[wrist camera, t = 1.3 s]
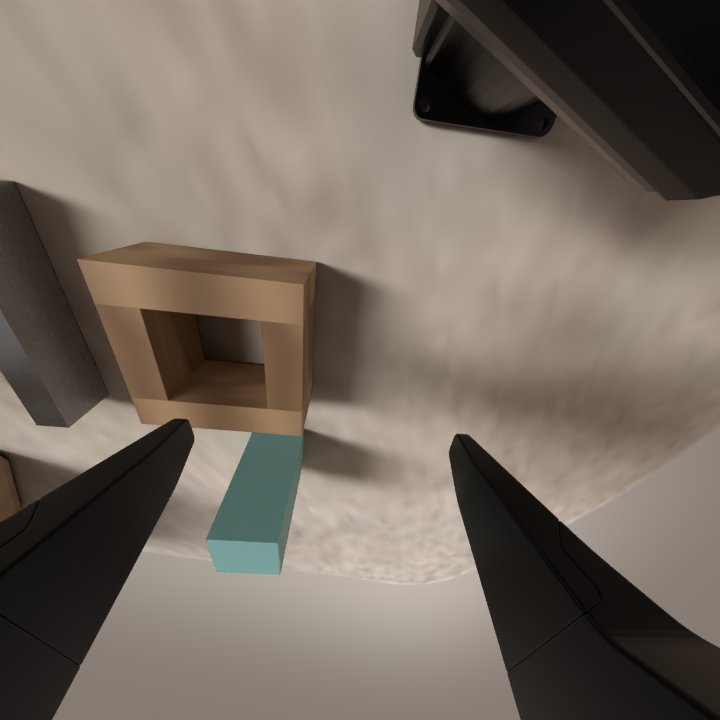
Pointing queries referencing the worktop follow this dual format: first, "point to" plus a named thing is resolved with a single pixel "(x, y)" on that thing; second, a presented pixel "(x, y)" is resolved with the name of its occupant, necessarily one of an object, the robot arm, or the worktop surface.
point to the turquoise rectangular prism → (258, 506)
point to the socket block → (182, 339)
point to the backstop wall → (40, 326)
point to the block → (7, 491)
